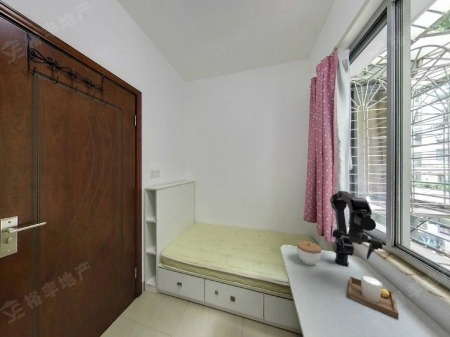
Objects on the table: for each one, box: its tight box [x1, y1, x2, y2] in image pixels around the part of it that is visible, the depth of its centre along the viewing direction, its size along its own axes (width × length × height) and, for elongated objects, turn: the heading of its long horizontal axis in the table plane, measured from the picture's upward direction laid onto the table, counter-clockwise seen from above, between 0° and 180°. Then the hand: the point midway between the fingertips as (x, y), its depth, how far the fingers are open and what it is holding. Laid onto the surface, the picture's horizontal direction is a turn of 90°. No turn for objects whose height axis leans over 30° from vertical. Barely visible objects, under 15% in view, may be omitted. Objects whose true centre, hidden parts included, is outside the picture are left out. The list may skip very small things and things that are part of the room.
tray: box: [347, 276, 400, 320], centre depth 70 cm, size 15×15×2 cm
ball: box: [381, 288, 389, 297], centre depth 71 cm, size 3×3×3 cm
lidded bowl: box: [296, 240, 322, 266], centre depth 96 cm, size 13×13×11 cm
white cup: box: [360, 274, 383, 302], centre depth 70 cm, size 7×7×7 cm
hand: (354, 255), depth 82 cm, fingers open, 9 cm apart
